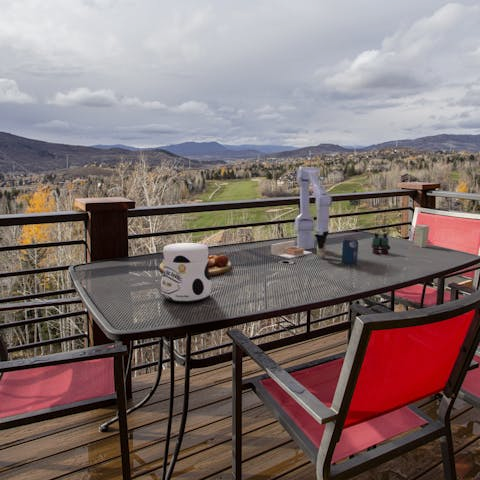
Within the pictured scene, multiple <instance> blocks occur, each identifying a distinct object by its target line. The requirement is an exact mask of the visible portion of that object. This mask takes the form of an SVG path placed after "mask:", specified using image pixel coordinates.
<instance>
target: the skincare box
mask: <svg viewBox="0 0 480 480" xmlns="http://www.w3.org/2000/svg"><path fill="white" fill-rule="evenodd" d="M429 233H430V225H425V224H415V228H414V237H413V246H414V245H415V247H418V246H419V247H418V248H427V247H428V241H429ZM426 246H427V247H426Z"/></svg>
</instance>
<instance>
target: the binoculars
mask: <svg viewBox="0 0 480 480" xmlns="http://www.w3.org/2000/svg"><path fill="white" fill-rule="evenodd" d="M389 245H390V244H389V237H388V232H385V233H383V234H382V236H379V233H377V232H374V236H373V237H372V241H371V249H372V250H371V251H372V254H373V255H377V256H378V255H380V252H381V254H382V255H383V254H384V255H383V256H386V255H388V254H389V250H391V246H389ZM389 255H390V254H389Z"/></svg>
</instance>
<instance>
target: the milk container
mask: <svg viewBox="0 0 480 480" xmlns="http://www.w3.org/2000/svg"><path fill="white" fill-rule="evenodd" d="M162 249H163V250H162V262H163V272H162V276H161V281H160V290H161V295H162V296H163V298H164V299H166V300H168V301H171V302H175V303H194V302H195V303H196V302H200V301H202V300H205V299H206V298H207V297H209V296H210V294H211V291H212V278H211V276H210V275H209V258H208V257H209V256H210V254H209V246H207V245H206V244H203V243H195V242H194V243H193V242H178V243H170V244H167V245H165V246H163V248H162Z"/></svg>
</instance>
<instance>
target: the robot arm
mask: <svg viewBox="0 0 480 480" xmlns="http://www.w3.org/2000/svg"><path fill="white" fill-rule="evenodd" d="M296 177H297V179H296V180H297V183H298V184H299V202H300V204H299V208H300V210H299V212H300V213H299V215H297V216H296V217H295V219H294V226H293V227H294V231H296V233H297V234H296V235H297V238H296V245H295V247H299V248H304V251H307V250H310V249H314V248H316V246H315V239H316V243H317V244H318V249H323V246H324V244H326V240H327V237H328V235H329V233H330V232H329V222H330V221H329V220H330V207H331V206H332V204H333V198H332V195H331V194H329V193H327V191H326V189H325V187H324V185H323V184H321V183H320V181H319V168H318V167H317V166H299V167H298V169H297V173H296ZM310 185H311V186H312V193H313V195H314V199H315V205H316V224H315V219H314V216H312V215H311V214H310ZM315 225H316V227H315ZM313 231H317V233H315V234H314V232H313Z"/></svg>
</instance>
